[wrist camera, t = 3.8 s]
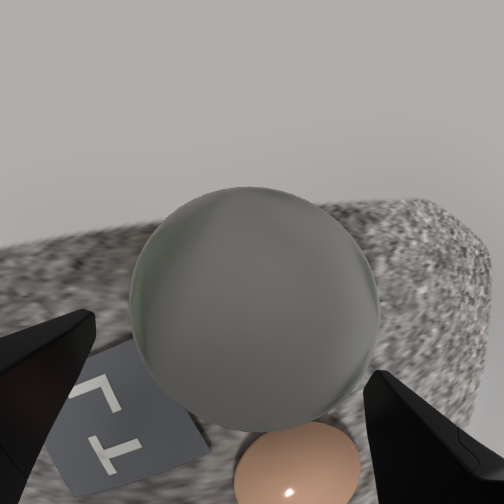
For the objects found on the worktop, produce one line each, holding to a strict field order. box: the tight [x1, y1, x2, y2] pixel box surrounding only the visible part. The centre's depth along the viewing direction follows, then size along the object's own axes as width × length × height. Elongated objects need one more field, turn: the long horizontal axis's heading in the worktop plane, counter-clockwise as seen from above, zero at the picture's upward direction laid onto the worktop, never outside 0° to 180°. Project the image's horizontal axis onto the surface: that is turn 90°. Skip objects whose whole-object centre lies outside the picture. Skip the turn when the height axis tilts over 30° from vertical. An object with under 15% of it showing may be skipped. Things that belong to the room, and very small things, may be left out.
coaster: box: [233, 421, 361, 504], centre depth 14 cm, size 8×8×1 cm
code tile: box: [44, 339, 212, 497], centre depth 13 cm, size 10×8×1 cm
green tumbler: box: [129, 187, 380, 432], centre depth 11 cm, size 6×6×12 cm
